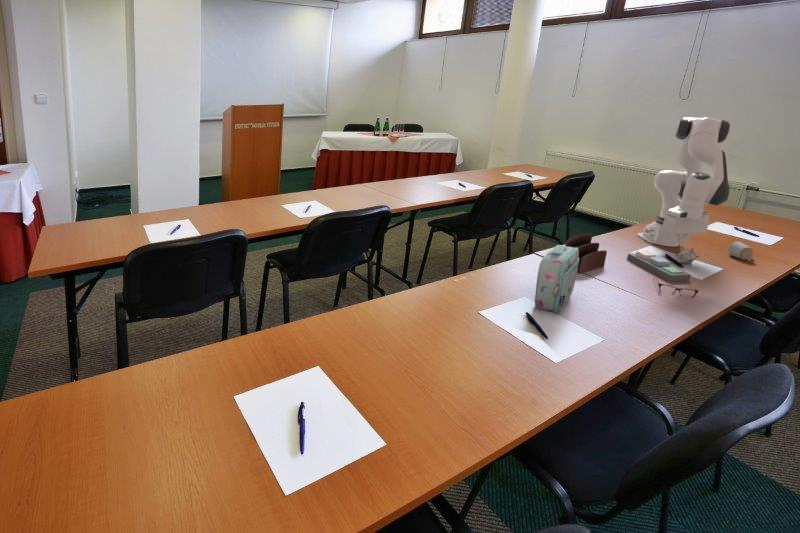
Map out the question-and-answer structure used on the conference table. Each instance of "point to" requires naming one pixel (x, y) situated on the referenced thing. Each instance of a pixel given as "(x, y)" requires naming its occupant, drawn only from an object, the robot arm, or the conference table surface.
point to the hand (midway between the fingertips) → (680, 243)
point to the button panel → (659, 269)
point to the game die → (686, 256)
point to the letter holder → (587, 253)
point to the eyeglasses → (678, 288)
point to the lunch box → (556, 278)
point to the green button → (672, 270)
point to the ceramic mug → (740, 251)
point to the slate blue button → (658, 261)
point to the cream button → (645, 254)
